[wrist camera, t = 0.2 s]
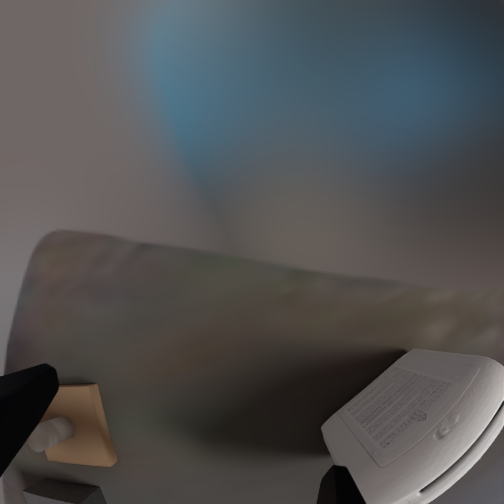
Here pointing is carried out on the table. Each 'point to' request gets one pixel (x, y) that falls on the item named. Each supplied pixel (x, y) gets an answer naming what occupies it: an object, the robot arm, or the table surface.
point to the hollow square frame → (62, 493)
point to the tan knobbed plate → (75, 428)
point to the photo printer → (418, 425)
